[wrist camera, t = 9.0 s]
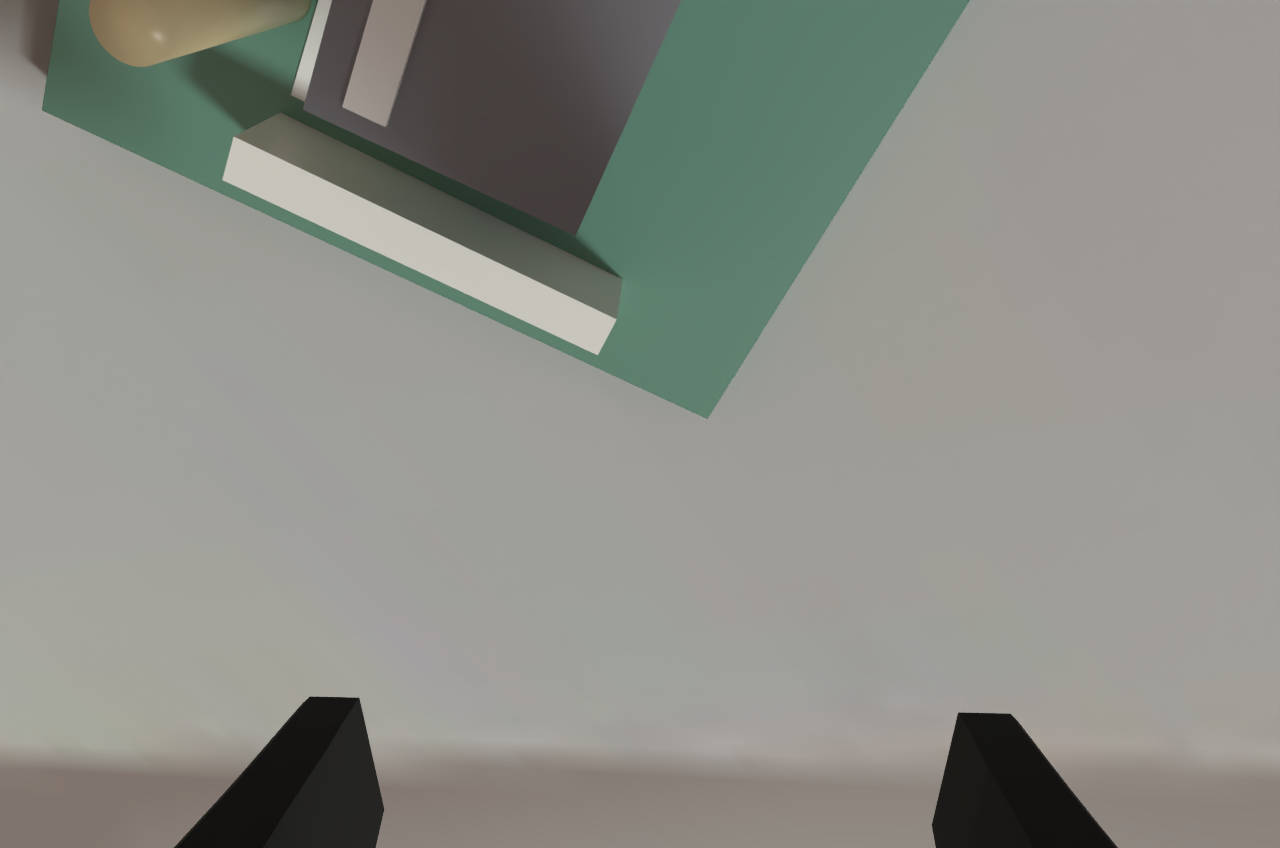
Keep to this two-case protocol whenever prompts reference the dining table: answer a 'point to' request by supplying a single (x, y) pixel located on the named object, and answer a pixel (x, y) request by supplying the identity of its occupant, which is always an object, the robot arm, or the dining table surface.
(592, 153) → the block
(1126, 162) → the dining table surface
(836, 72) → the header board
